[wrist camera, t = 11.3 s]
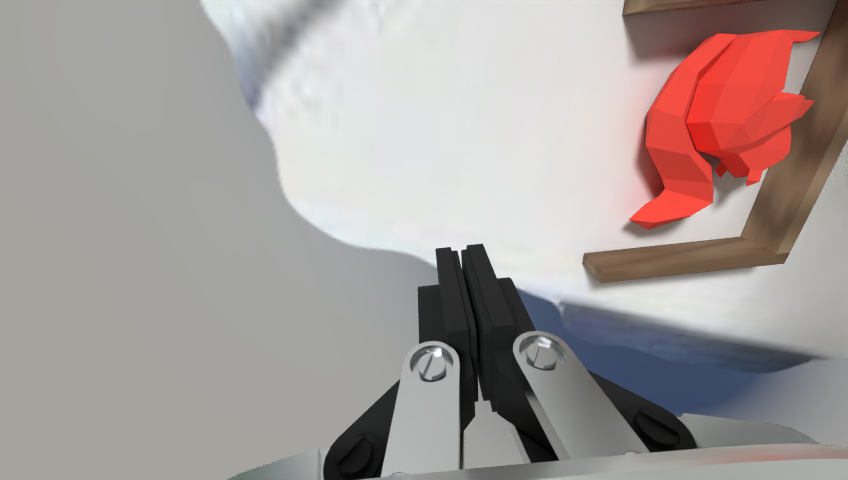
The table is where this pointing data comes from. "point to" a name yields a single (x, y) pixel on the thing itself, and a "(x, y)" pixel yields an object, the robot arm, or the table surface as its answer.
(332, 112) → the table surface
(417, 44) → the table surface
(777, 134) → the animal figurine
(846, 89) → the frame
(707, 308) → the table surface
